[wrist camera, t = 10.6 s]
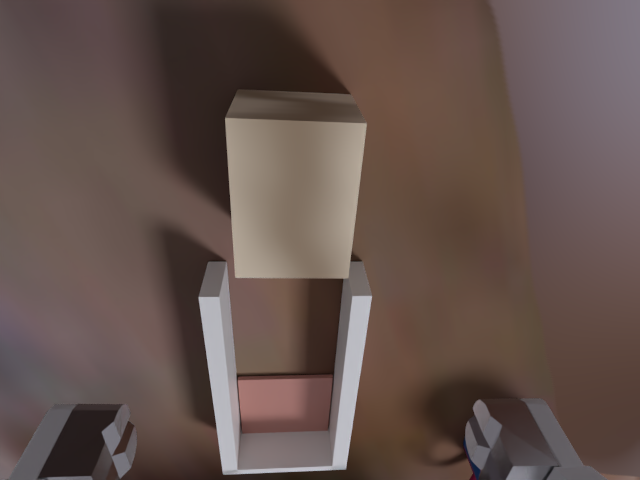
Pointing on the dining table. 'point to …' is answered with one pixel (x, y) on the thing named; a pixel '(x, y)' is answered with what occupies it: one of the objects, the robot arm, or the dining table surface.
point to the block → (293, 182)
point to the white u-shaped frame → (283, 389)
